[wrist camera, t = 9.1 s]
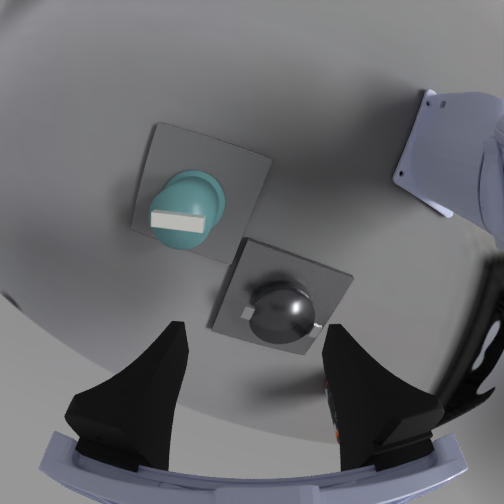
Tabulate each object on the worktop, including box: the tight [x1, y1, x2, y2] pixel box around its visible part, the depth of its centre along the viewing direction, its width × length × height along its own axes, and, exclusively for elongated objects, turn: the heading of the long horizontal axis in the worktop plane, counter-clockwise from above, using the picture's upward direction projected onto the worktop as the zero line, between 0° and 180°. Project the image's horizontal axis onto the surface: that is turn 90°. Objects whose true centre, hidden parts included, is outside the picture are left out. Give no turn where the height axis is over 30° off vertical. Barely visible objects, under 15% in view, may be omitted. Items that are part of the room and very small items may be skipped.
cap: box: [149, 170, 225, 250], centre depth 18 cm, size 5×5×5 cm
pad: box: [130, 122, 273, 265], centre depth 20 cm, size 9×9×1 cm
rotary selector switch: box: [212, 238, 354, 355], centre depth 23 cm, size 10×10×3 cm
